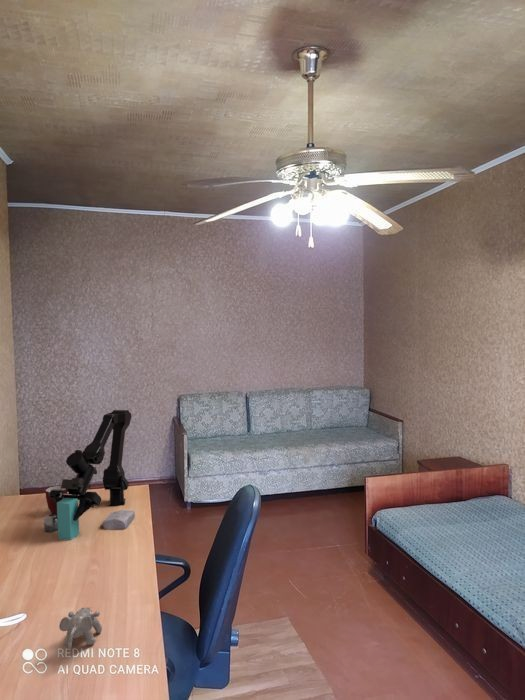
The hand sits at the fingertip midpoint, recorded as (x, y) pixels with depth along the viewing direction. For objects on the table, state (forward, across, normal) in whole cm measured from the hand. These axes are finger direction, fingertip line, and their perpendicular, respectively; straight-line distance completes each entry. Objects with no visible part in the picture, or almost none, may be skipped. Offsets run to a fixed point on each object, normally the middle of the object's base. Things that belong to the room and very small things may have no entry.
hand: (65, 519), depth 175 cm
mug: (-10, -19, +20) cm, 29 cm away
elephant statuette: (+41, +40, -31) cm, 65 cm away
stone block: (-6, +11, +16) cm, 21 cm away
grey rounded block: (+1, -10, +8) cm, 13 cm away
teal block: (+4, 0, +6) cm, 7 cm away
